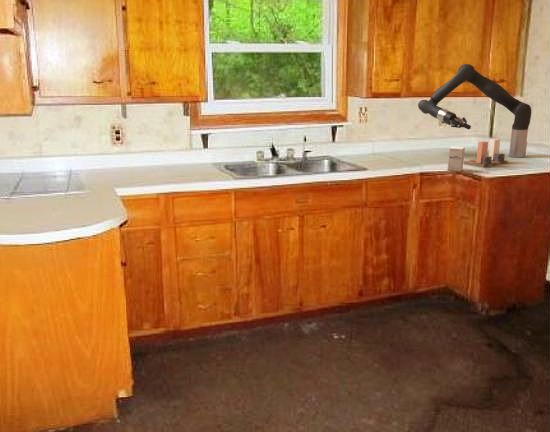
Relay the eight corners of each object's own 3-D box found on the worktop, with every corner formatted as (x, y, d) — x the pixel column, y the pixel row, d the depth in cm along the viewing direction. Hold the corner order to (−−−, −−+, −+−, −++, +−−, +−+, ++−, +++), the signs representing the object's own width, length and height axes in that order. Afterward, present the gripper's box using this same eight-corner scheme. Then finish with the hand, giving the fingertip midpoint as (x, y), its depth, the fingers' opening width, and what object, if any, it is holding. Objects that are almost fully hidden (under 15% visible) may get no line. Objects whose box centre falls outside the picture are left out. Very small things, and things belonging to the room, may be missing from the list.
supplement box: (447, 170, 297) (448, 147, 293) (449, 168, 303) (451, 146, 300) (460, 171, 294) (462, 148, 290) (463, 169, 300) (465, 146, 296)
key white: (493, 158, 320) (495, 138, 317) (498, 159, 318) (500, 139, 315) (488, 159, 318) (490, 139, 315) (492, 160, 315) (494, 139, 312)
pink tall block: (481, 161, 311) (483, 141, 308) (486, 162, 309) (488, 141, 306) (476, 162, 309) (478, 141, 306) (480, 163, 306) (482, 142, 303)
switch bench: (488, 160, 326) (489, 151, 324) (507, 163, 315) (508, 154, 313) (463, 163, 315) (464, 154, 313) (483, 167, 304) (483, 157, 302)
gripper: (440, 114, 323) (464, 125, 312) (454, 108, 329) (478, 119, 319) (438, 125, 327) (461, 136, 317) (451, 119, 334) (474, 130, 324)
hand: (470, 127), depth 318 cm, fingers closed
